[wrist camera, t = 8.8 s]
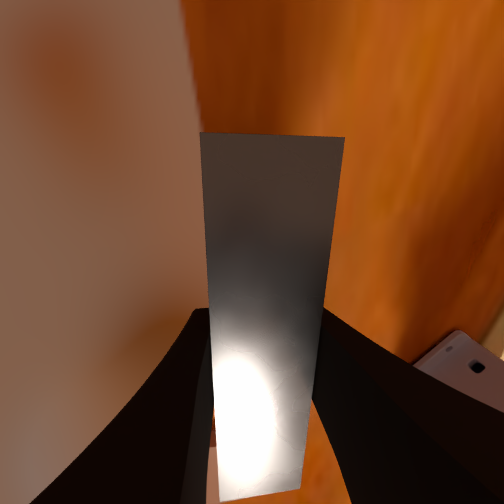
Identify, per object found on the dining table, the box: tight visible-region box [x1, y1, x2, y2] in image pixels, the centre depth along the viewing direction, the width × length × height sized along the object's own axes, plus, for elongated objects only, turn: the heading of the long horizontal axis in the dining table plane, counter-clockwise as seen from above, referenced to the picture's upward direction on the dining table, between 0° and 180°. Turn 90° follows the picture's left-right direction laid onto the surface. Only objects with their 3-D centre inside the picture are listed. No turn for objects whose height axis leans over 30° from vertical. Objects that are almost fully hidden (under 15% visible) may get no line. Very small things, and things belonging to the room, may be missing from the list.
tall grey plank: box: [200, 132, 345, 502], centre depth 9 cm, size 12×3×5 cm, turn 179°
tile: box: [206, 430, 265, 504], centre depth 18 cm, size 2×6×7 cm
